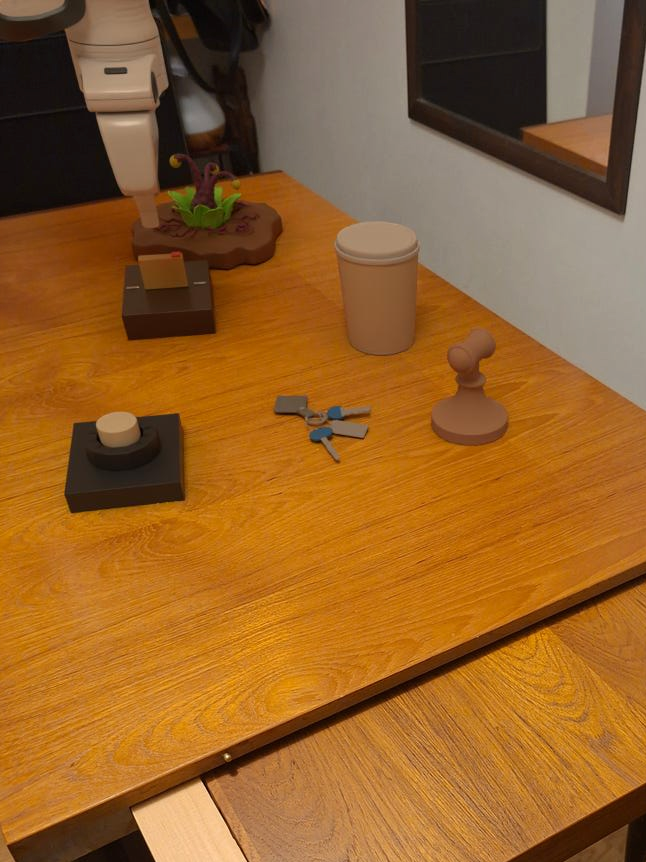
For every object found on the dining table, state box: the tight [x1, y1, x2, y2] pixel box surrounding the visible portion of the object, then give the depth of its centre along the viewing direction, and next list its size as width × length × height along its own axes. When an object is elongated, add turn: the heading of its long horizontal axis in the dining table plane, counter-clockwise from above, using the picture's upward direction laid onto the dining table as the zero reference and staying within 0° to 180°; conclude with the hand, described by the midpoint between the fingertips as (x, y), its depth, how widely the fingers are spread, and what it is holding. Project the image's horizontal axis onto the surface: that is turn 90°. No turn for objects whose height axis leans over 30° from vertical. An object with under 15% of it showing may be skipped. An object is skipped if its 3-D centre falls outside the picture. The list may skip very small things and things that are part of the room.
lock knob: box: [137, 252, 188, 290], centre depth 107 cm, size 5×1×4 cm, turn 104°
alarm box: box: [63, 412, 186, 514], centre depth 85 cm, size 10×12×4 cm
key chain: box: [273, 395, 372, 461], centre depth 93 cm, size 14×8×1 cm, turn 40°
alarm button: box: [96, 411, 141, 448], centre depth 83 cm, size 4×4×2 cm
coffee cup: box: [333, 220, 421, 356], centre depth 102 cm, size 9×9×12 cm
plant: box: [130, 152, 283, 270], centre depth 121 cm, size 20×20×11 cm
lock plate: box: [121, 260, 217, 341], centre depth 109 cm, size 10×14×3 cm
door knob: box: [430, 326, 509, 446], centre depth 91 cm, size 8×10×8 cm
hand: (152, 209), depth 102 cm, fingers open, 8 cm apart
